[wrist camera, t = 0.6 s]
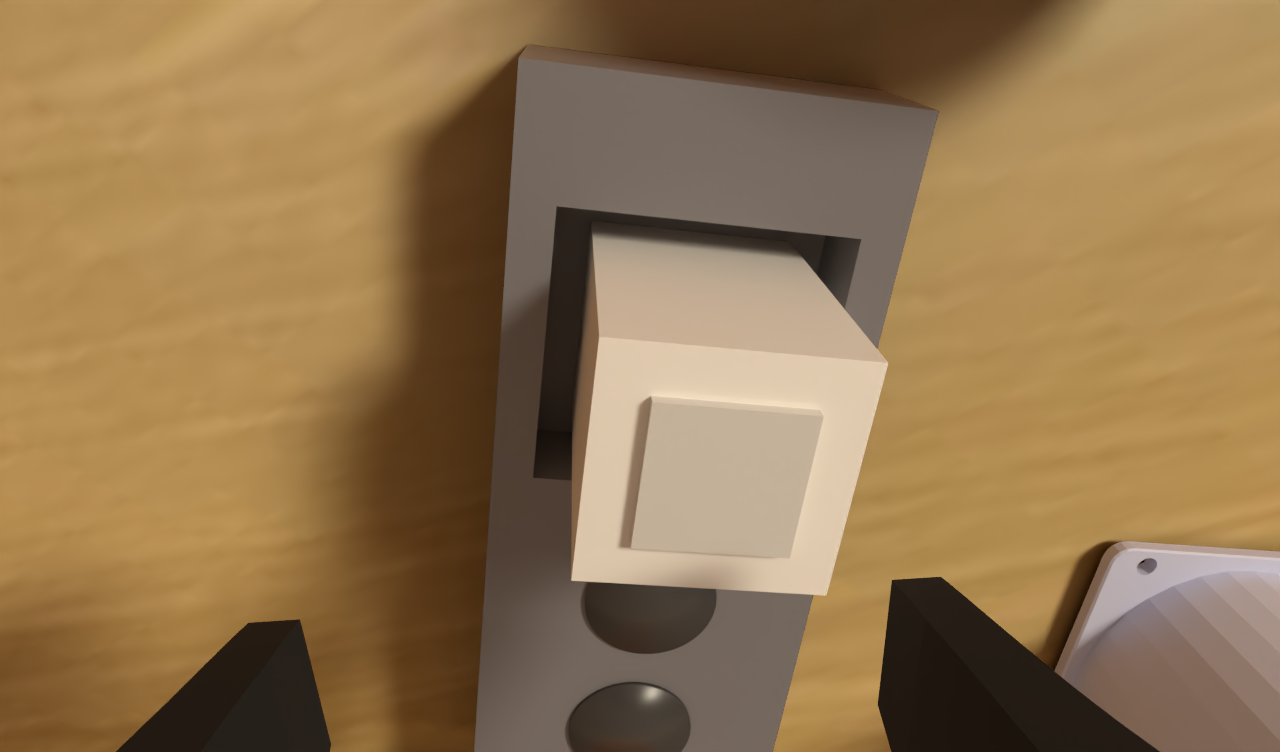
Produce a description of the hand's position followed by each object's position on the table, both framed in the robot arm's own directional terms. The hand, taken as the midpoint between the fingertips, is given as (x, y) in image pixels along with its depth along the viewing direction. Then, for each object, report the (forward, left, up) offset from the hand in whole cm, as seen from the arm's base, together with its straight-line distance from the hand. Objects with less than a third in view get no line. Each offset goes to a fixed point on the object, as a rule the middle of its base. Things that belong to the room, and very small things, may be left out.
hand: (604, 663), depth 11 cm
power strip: (-2, +3, -9) cm, 10 cm away
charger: (-2, -1, -8) cm, 9 cm away
